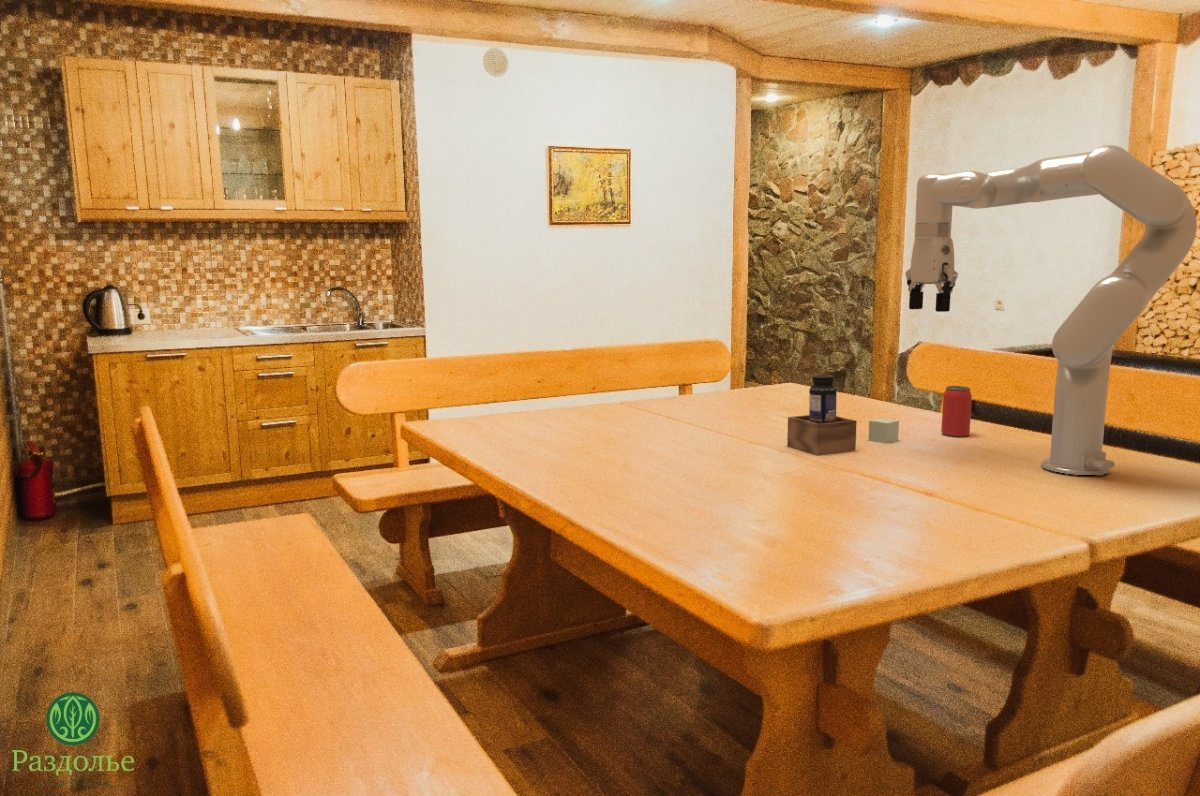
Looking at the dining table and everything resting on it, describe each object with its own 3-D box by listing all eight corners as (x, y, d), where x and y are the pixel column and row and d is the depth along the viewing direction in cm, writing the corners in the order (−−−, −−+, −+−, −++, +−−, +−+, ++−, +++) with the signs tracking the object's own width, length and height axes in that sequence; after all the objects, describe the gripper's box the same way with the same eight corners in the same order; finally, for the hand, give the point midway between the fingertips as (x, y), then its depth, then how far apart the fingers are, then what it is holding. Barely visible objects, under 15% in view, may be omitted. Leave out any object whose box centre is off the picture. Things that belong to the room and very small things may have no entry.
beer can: (973, 437, 220) (976, 389, 218) (946, 437, 221) (949, 389, 219) (963, 432, 227) (966, 385, 225) (937, 432, 227) (939, 385, 225)
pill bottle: (834, 420, 210) (835, 374, 209) (837, 425, 204) (838, 377, 203) (807, 420, 211) (808, 374, 209) (810, 425, 205) (811, 377, 203)
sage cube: (898, 440, 217) (898, 420, 216) (886, 443, 214) (887, 423, 213) (879, 438, 221) (880, 418, 220) (868, 440, 218) (869, 420, 217)
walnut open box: (855, 450, 206) (856, 420, 205) (817, 455, 201) (818, 424, 200) (824, 441, 216) (825, 413, 215) (787, 446, 211) (788, 417, 210)
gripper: (973, 231, 189) (968, 312, 192) (923, 233, 206) (920, 308, 208) (942, 231, 187) (938, 312, 190) (895, 233, 204) (891, 308, 207)
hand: (928, 310), depth 199 cm, fingers open, 9 cm apart
